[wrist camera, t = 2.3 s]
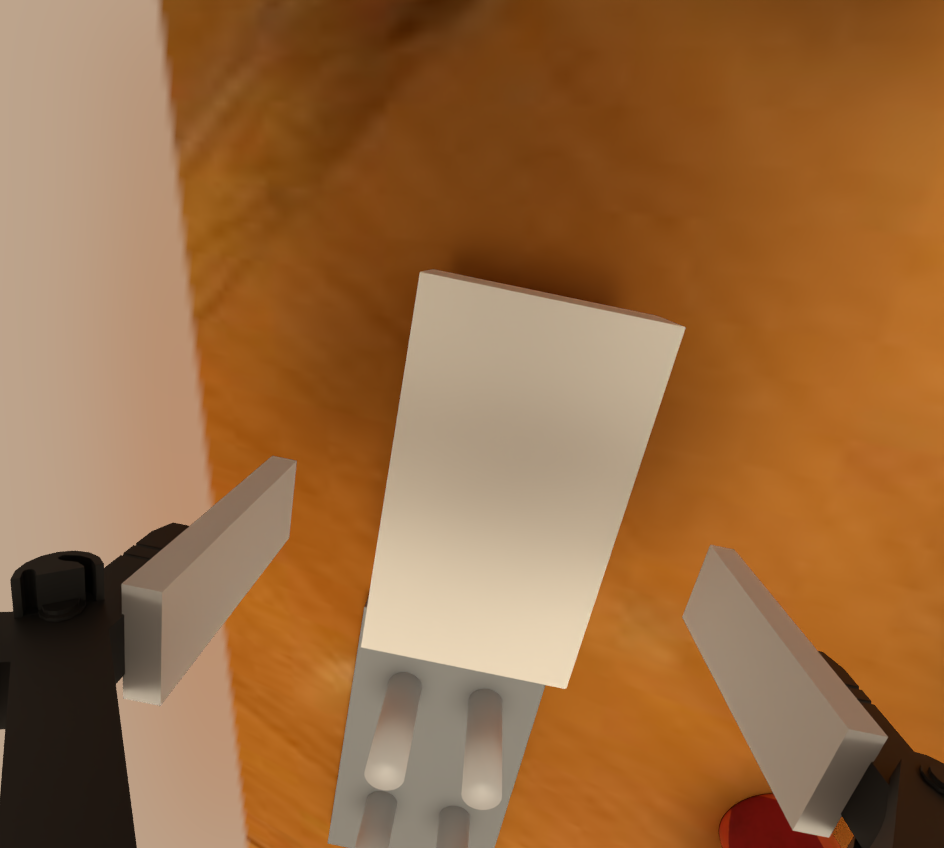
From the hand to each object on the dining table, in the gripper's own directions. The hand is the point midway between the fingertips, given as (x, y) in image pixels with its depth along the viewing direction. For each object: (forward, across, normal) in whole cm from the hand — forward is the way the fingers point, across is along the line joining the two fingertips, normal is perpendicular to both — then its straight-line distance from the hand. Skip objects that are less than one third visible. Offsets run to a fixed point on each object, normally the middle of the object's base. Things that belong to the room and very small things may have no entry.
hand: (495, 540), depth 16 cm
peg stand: (+9, 0, -18) cm, 20 cm away
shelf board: (+4, 0, 0) cm, 5 cm away
